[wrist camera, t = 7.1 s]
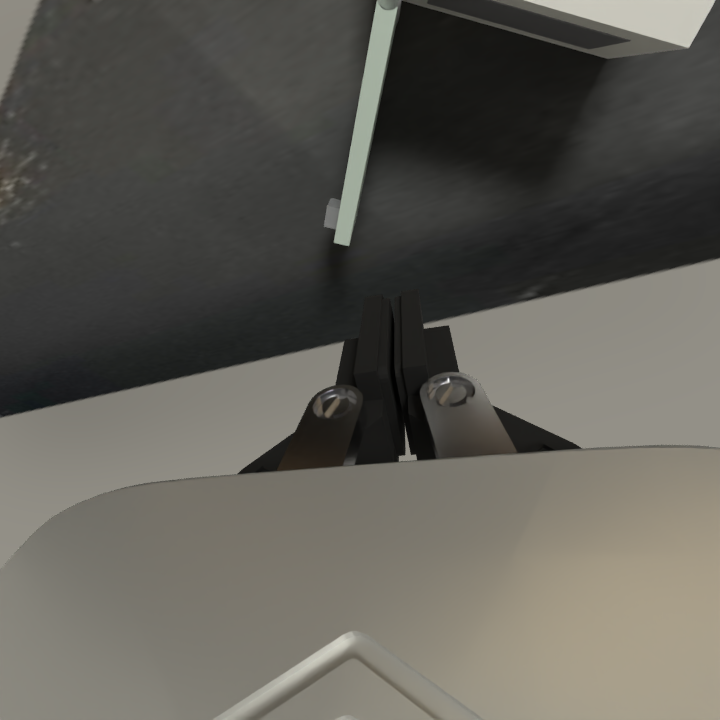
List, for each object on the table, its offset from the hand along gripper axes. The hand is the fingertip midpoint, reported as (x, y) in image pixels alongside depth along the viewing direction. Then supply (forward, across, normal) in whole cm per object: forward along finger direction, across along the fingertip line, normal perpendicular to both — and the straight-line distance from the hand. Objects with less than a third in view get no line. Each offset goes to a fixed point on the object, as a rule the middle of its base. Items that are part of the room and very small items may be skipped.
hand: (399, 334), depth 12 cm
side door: (+21, +2, -5) cm, 21 cm away
